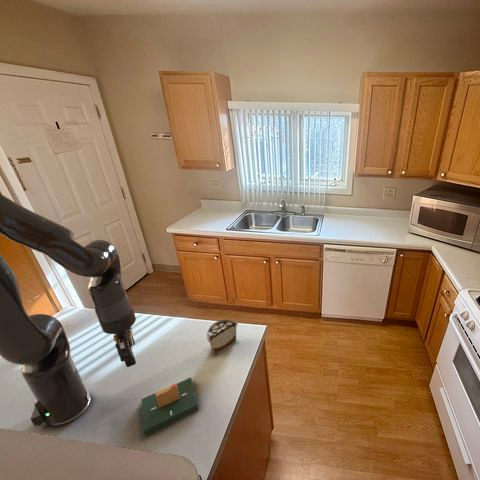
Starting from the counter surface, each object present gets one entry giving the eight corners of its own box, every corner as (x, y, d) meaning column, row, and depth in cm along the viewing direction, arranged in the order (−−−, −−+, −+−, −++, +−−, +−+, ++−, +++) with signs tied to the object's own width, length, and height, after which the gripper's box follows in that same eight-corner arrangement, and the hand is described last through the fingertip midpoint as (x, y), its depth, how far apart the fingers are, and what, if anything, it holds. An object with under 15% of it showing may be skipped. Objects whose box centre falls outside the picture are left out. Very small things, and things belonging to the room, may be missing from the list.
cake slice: (230, 332, 109) (228, 314, 105) (239, 340, 105) (237, 321, 101) (203, 349, 100) (199, 329, 96) (211, 358, 96) (208, 338, 92)
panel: (144, 436, 71) (142, 430, 70) (143, 403, 79) (141, 398, 78) (198, 409, 79) (197, 403, 78) (191, 382, 87) (190, 377, 86)
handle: (159, 408, 76) (155, 396, 74) (158, 404, 77) (155, 392, 75) (179, 398, 79) (176, 386, 77) (179, 395, 80) (176, 383, 78)
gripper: (99, 302, 72) (116, 344, 79) (95, 333, 62) (115, 379, 68) (131, 293, 76) (144, 334, 83) (132, 321, 66) (147, 365, 72)
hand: (131, 354), depth 75 cm, fingers open, 8 cm apart
